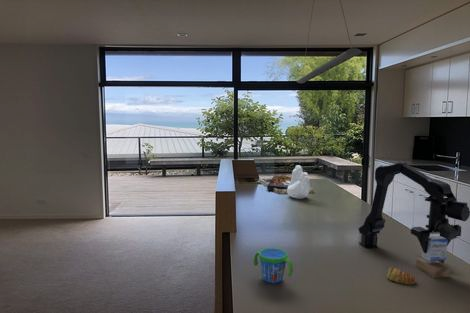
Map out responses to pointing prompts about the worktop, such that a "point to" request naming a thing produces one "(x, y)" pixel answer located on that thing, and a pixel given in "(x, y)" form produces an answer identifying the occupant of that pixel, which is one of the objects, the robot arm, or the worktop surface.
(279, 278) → the snack cup
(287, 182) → the food platter
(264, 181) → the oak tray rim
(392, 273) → the pastry
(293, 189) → the decorative rooster
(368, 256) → the worktop surface
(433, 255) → the medicine box
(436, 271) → the walnut pedestal block
